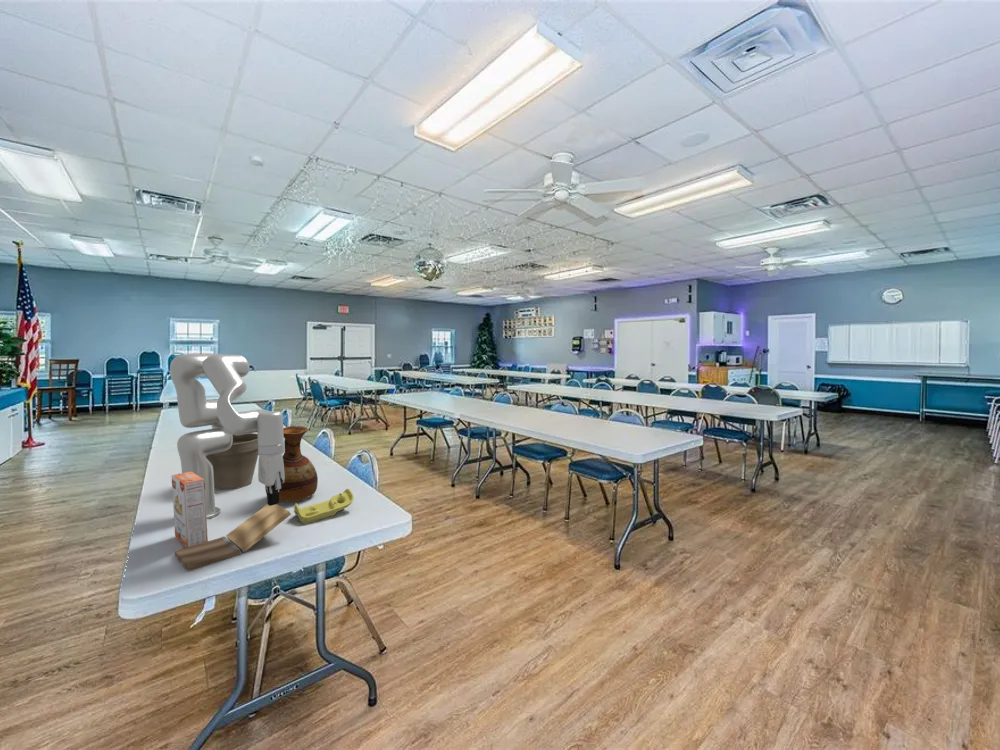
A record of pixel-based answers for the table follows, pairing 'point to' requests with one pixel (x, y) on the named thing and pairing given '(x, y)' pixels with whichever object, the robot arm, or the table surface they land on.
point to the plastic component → (324, 507)
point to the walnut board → (206, 553)
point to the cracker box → (189, 508)
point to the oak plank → (257, 526)
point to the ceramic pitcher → (296, 468)
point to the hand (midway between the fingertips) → (273, 504)
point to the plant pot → (235, 463)
